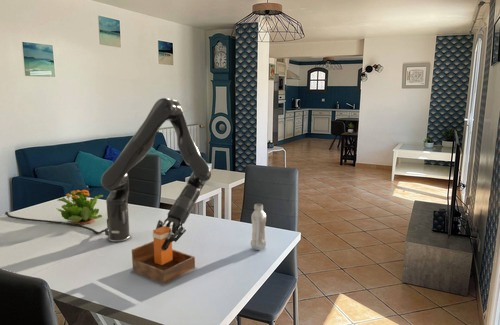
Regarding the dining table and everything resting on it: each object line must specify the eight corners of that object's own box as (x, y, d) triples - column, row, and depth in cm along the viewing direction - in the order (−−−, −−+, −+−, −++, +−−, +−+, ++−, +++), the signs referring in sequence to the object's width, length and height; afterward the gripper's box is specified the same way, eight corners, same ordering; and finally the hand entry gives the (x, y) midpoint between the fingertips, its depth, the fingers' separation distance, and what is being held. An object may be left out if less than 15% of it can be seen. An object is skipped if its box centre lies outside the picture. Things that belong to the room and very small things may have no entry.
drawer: (132, 271, 143) (131, 249, 142) (164, 257, 156) (163, 237, 154) (164, 285, 133) (163, 261, 132) (195, 268, 146) (194, 247, 144)
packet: (154, 262, 143) (152, 230, 140) (165, 257, 147) (164, 225, 145) (161, 265, 140) (160, 232, 138) (172, 260, 145) (171, 228, 143)
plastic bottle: (250, 246, 167) (250, 202, 164) (265, 245, 168) (265, 202, 164) (251, 252, 161) (251, 207, 158) (267, 251, 162) (267, 206, 158)
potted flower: (117, 220, 202) (115, 188, 199) (77, 233, 182) (74, 199, 179) (89, 212, 215) (86, 182, 212) (48, 224, 196) (45, 192, 193)
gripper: (163, 201, 150) (140, 239, 143) (189, 207, 142) (166, 248, 135) (174, 210, 155) (152, 247, 148) (199, 217, 147) (177, 257, 140)
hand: (159, 247), depth 141 cm, fingers closed on packet, 4 cm apart
